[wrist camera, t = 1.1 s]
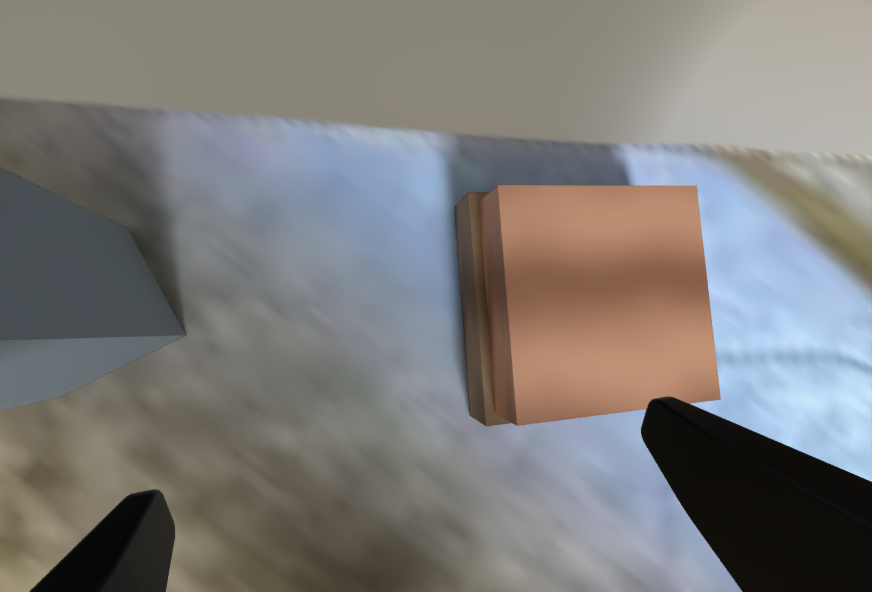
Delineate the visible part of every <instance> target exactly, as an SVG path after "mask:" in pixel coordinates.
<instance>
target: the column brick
mask: <svg viewBox="0 0 872 592" xmlns="http://www.w3.org/2000/svg"><path fill="white" fill-rule="evenodd" d="M184 336H186V334H185V332H184V330H183V328H182V326H181V325H180V323H179V321H178V319H177V317H176V315H175V314H174V312H173V310H172V308H171V306H170V305H169V303H168V301H167V299H166V297H165V295H164V294H163V292H162V290H161V288H160V286H159V284H158V283H157V281H156V279H155V277H154V275H153V274H152V272H151V270H150V268H149V266H148V264H147V263H146V261H145V259H144V257H143V255H142V253H141V252H140V250H139V248H138V246H137V244H136V243H135V241H134V239H133V237H132V235H131V233H130V232H129V230H128V228H126V227H124V226H121V225H119V224H117V223H115V222H113V221H111V220H109V219H107V218H105V217H103V216H101V215H98V214H96V213H94V212H92V211H90V210H88V209H86V208H84V207H82V206H80V205H78V204H75V203H73V202H71V201H69V200H67V199H65V198H63V197H61V196H59V195H57V194H55V193H52V192H50V191H48V190H46V189H44V188H42V187H40V186H38V185H36V184H34V183H32V182H29V181H27V180H25V179H23V178H21V177H19V176H17V175H15V174H13V173H11V172H8V171H6V170H4V169H2V168H0V411H1V410H6V409H10V408H14V407H19V406H23V405H27V404H31V403H36V402H40V401H44V400H49V399H53V398H57V397H60V396H62V395H64V394H66V393H68V392H71V391H73V390H75V389H77V388H79V387H81V386H83V385H85V384H87V383H89V382H91V381H93V380H95V379H97V378H99V377H101V376H104V375H106V374H108V373H110V372H112V371H114V370H116V369H118V368H120V367H122V366H124V365H126V364H128V363H130V362H132V361H135V360H137V359H139V358H141V357H143V356H145V355H147V354H149V353H151V352H153V351H155V350H157V349H159V348H161V347H163V346H165V345H168V344H170V343H172V342H174V341H176V340H178V339H180V338H182V337H184Z"/></svg>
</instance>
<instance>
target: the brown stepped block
mask: <svg viewBox="0 0 872 592" xmlns="http://www.w3.org/2000/svg"><path fill="white" fill-rule="evenodd" d="M455 217H456V230H457V244H458V257H459V271H460V284H461V298H462V311H463V325H464V338H465V352H466V365H467V379H468V392H469V406H470V416H471V417H473V418H474V419H476V420H477V421H479V422H480V423H482V424H484V425H485V426H492V425H500V424H508V423H513V424H515V425H517V426H518V425H526V424H534V423H542V422H549V421H557V420H565V419H573V418H580V417H588V416H596V415H604V414H611V413H619V412H627V411H635V410H642V409H647V406H648V403H649V402H650V401H651V400H652V399H654V398H660V397H665V396H671V397H674V398H677V399H679V400H681V401H684V402H686V403H688V404H689V403H696V402H704V401H712V400H720V399H721V398H720V389H719V380H718V371H717V362H716V354H715V345H714V336H713V327H712V318H711V309H710V301H709V292H708V283H707V274H706V265H705V257H704V248H703V239H702V230H701V221H700V213H699V204H698V195H697V186H610V185H497V186H496V187H495V188H494V189H493V190H492V191H491V192H468V193H467V194H466V195H465V196H464V198H463V199H462V200H461V201H460V202H459V203H458V204H457V205H456V206H455Z"/></svg>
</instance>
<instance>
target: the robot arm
mask: <svg viewBox="0 0 872 592" xmlns="http://www.w3.org/2000/svg"><path fill="white" fill-rule="evenodd" d="M641 435H642V439H643V441H644V443H645V445H646V446H647V448H648V450H649V451H650V453H651V455H652V456H653V458H654V460H655V462H656V463H657V465H658V467H659V468H660V470H661V472H662V473H663V475H664V477H665V478H666V480H667V482H668V483H669V485H670V487H671V488H672V490H673V492H674V494H675V495H676V497H677V499H678V500H679V502H680V503H681V505H682V507H683V508H684V510H685V511H686V513H687V514H688V516H689V517H690V519H691V520H692V522H693V523H694V524H695V526H696V527H697V529H698V530H699V531H700V533H701V534H702V536H703V537H704V538H705V540H706V541H707V543H708V544H709V545H710V547H711V548H712V550H713V551H714V552H715V554H716V555H717V557H718V558H719V559H720V561H721V562H722V564H723V565H724V566H725V568H726V569H727V571H728V572H729V573H730V575H731V576H732V578H733V579H734V580H735V582H736V583H737V585H738V586H739V587H740V589H741V590H742V592H872V482H871V481H869V480H866V479H864V478H862V477H859V476H857V475H855V474H852V473H850V472H847V471H845V470H843V469H840V468H838V467H836V466H833V465H831V464H829V463H826V462H824V461H822V460H819V459H817V458H815V457H812V456H810V455H808V454H805V453H803V452H801V451H798V450H796V449H794V448H791V447H789V446H787V445H784V444H782V443H780V442H777V441H775V440H773V439H770V438H768V437H766V436H763V435H761V434H759V433H756V432H754V431H752V430H749V429H747V428H745V427H742V426H740V425H738V424H735V423H733V422H731V421H728V420H726V419H724V418H721V417H719V416H717V415H714V414H712V413H710V412H707V411H705V410H703V409H700V408H698V407H696V406H693V405H691V404H688V403H686V402H684V401H681V400H679V399H677V398H674V397H671V396H665V397H660V398H654V399H652V400H651V401H650V402H649V403H648V406H647V409H646V413H645V416H644V420H643V423H642V427H641ZM174 540H175V525H174V521H173V518H172V516H171V513H170V511H169V508H168V506H167V503H166V501H165V498H164V496H163V494H162V492H161V491H160V490H155V489H154V490H148V491H143V492H137V493H133V494H130V495H128V496H127V497H125V498H124V499H123V500H122V501H121V502H120V503H119V504H118V505H117V506H116V507H115V508H114V509H113V510H112V511H111V512H110V513H109V514H108V515H107V516H106V517H105V518H104V519H103V520H102V521H101V522H100V523H99V524H98V525H97V526H96V527H95V528H94V529H93V530H92V531H91V532H90V533H89V534H87V535H86V536H85V537H84V538H83V539H82V540H81V541H80V542H79V543H78V544H77V545H76V546H75V547H74V548H73V549H72V550H71V551H70V552H69V553H68V554H67V555H66V556H65V557H64V558H63V559H62V560H61V561H60V562H59V563H58V564H57V565H56V566H55V567H54V568H53V569H52V570H51V571H50V572H49V573H48V574H47V575H46V576H45V577H44V578H43V579H42V580H41V581H40V582H39V583H38V584H37V585H36V586H35V587H34V588H33V589H31V590H30V591H29V592H166V587H167V581H168V575H169V569H170V563H171V557H172V552H173V546H174Z"/></svg>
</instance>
